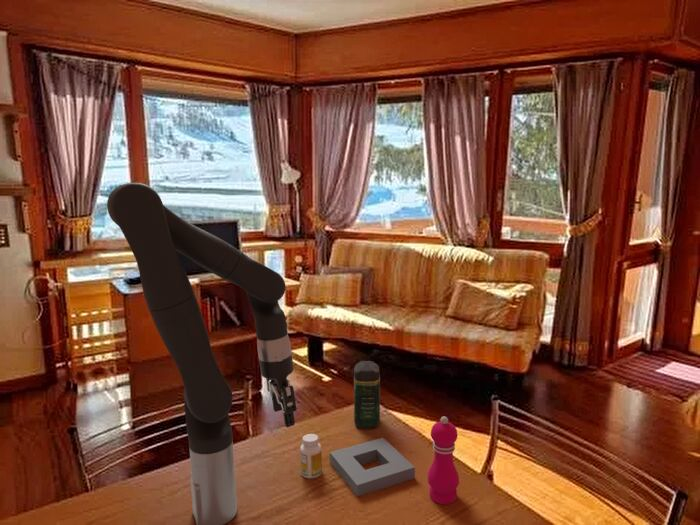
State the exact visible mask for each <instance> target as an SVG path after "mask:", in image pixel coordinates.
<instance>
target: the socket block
mask: <svg viewBox="0 0 700 525" xmlns="http://www.w3.org/2000/svg"><path fill="white" fill-rule="evenodd" d="M373 461H376V462H378V463H379V464H380V465H378V466H375V467H371V468H368V469H365V468H364V466H362V465H364V464H367V463H370V462H373ZM329 463H330V464H331V466H332V467H333V469H334V470H335V471H336V472H337V474H339V476H340V477H341V478H342V480H343V481H344V482H345V483H346V485H347V486H348V487H349V489H350V490H351V491H352V492H353V494H354V495H355V496H356V497H357V498H358V497H360V496H363V495H364V496H365V495H367V494H370V493H373V492H376V491H380V490H383V489H385V488H388V487H391V486H395V485H397V484H400V483H405V482H407V481H410V480H411V481H412V480H413V479H415V478H416V473H415V472H416V467H415V466H414V465H413V464H412V463H411V462H410V461H409V460H408V459H406V458H405V456H404V455H402V454H401V452H399V451H398V450H397V449H396V448H395V447H393V445H392V444H391V443H389V441H387V440H386V439H385V438H384V437H381V438H377V439H372V440H369V441H366V442H362V443H358V444H355V445H351V446H347V447H344V448H340V449H336V450H332V451H330V452H329Z"/></svg>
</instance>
